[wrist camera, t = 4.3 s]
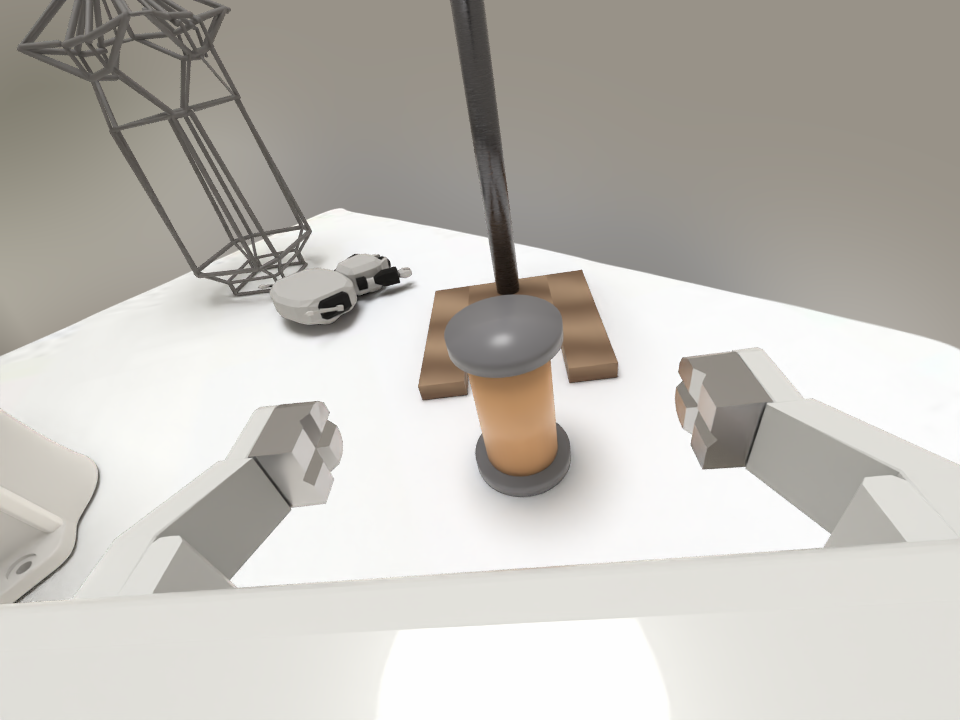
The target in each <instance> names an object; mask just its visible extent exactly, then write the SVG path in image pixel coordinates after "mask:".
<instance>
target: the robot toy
mask: <svg viewBox="0 0 960 720" xmlns="http://www.w3.org/2000/svg"><path fill="white" fill-rule="evenodd" d="M390 267H391V264H390V261H389V260H388V259H387V258H386V257H383V256H381V257H380V255H376V254H374V255H369V254H354V255H352V256H350V257H349V258H347V259H346V260H344V261H342V262H341V263H339V264H338V265H337V268H336V269H335V270H334V271H333V270H328V269H321V268H314V269H305V270H302V271H300V272H297V273H294V274H292V275H289V276H287V277H284V278H282V279H279V280H277V281H276V282H275V283H274V284H271V285H260V286H259V287H258V288H261V289H265V288H269V287H272V288H271V290H270V296H271V298H272V300H273V303H274V305H275V307H276V310H277V312H278V313H279V314H280V315H281V316H282V317H283V318H286V319H289V320H292V321H295V322H298V323H302V324H308V325H312V324H330V323H333V322H335V321H336V320H337V319H338V318H339V317H340V316H341V315H342V314H344V313H346V312H348V311H350V310H352V308H353V307H354V305H355V304H356V302H357V296H356V295H362V294H365V293H368V292H375V291H377V290H380V289H382V288H381V287H382V286H389V285H393V284H397V283H400V280H399V278H407V277H410V276H411V275H412V272H411V270H410V268H401V269H400V270H398V271H397V269H396V267H391V268H390Z"/></svg>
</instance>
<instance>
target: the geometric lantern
mask: <svg viewBox="0 0 960 720" xmlns="http://www.w3.org/2000/svg"><path fill="white" fill-rule="evenodd" d="M65 1H66V0H52V2H51V3H50V4H49V6H48V7H47V8H46V10H45V11H44V12H43V14H42V15H41V17H40V18H39V19H38V20H37V22H36V23H35V24H34V26H33V27H32V28H31V30H30V31H29V33H28V34H27V35H26V36H25V38H24V39H23V41H22V42H21V43H20V44H19V45H18V47H17V50H18V51H20V52H22V53H24V54H26V55H29V56H31V57H33V58H35V59H38V60H40V61H42V62H45V63H47V64H49V65H52V66H54V67H56V68H59V69H61V70H63V71H66V72H68V73H70V74H73V75H75V76H78V77H80V78H82V79H85V80H87V81H89V82H91V83H92V86H93V88H94V91H95V93H96V96H97V99H98V101H99V104H100V106H101V109H102V112H103V114H104V117H105V119H106V122H107V125H108V127H109V129H110V130H109V132H110V134H111V135H112V137H113V139H114V140H115V142H116V144H117V145H118V147H119V148H120V150H121V152H122V153H123V155H124V157H125V158H126V160H127V162H128V163H129V165H130V167H131V168H132V170H133V171H134V173H135V175H136V176H137V178H138V180H139V181H140V183H141V184H142V186H143V188H144V190H145V191H146V193H147V195H148V196H149V198H150V199H151V201H152V203H153V204H154V206H155V208H156V209H157V211H158V213H159V214H160V216H161V218H162V219H163V221H164V223H165V224H166V226H167V227H168V229H169V231H170V232H171V234H172V236H173V237H174V239H175V241H176V242H177V244H178V246H179V248H180V249H181V251H182V253H183V255H184V256H185V258H186V260H187V262H188V263H189V265H190V267H191V269H192V271H193V272H194V275H195V276H196V277H198V278H208V279H211V280H215V281H218V282H222V283H225V284H228V285H229V287H230V289H231V290H232V292H233V294H235V295H237V296H239V295H247V294H255V293H263V292H270V290H271V289H265V290H257V291H249V292H241V293H238V290H239V289H240V288H241V287H242V286H243V285H244V284H245V283H246V282H248V281H255V280H261V279H268V278H273V279H274V281H275V282H276V281H277V279H276V277H277V276H279V275H280V274H281V276H282V278H284V277H285V276H284V274H283V271H284V269H285V268H286V267H287V266H289V265H296V264H304V265H303V266H302V267H301V268H300V270H299V271H298V272H300V271H302V270H303V269H304V268H305V267H306V266H307V263H306V262H305V261H304V259H303V257H302V255H301V253H300V252H301V250H302V249H303V247H304V245H305V243H306V242H307V240H308V238H309V236H310V234H311V232H312V230H311V228H310V226H309V225H308V223H307V221H306V219H305V217H304V216H303V214H302V212H301V210H300V208H299V206H298V205H297V203H296V201H295V199H294V197H293V196H292V194H291V192H290V190H289V188H288V187H287V185H286V183H285V181H284V179H283V178H282V176H281V174H280V172H279V170H278V169H277V167H276V165H275V163H274V161H273V160H272V158H271V156H270V154H269V152H268V150H267V149H266V147H265V145H264V143H263V141H262V140H261V138H260V136H259V134H258V132H257V131H256V129H255V127H254V125H253V124H252V122H251V120H250V118H249V116H248V114H247V112H246V110H245V108H244V106H243V104H242V102H241V100H240V98H241V97H240V95H239V93H238V91H237V89H236V88H235V86H234V84H233V82H232V80H231V78H230V77H229V75H228V73H227V71H226V69H225V67H224V65H223V64H222V62H221V60H220V58H219V56H218V54H217V52H216V50H215V48H214V45H213V42H214V39H215V37H216V35H217V32H218V30H219V28H220V26H221V23H222V21H223V19H224V16H225V14H226V13H227V14H228V13H229V12H230V11H231V9H230V8H228V7H226V6H224V5H221V4H219V3H216V2H213V1H211V0H195V1H197V2H200V3H203V4H205V5H208V6H210V7H213V8H215V9H213V10H210V11H207V12H204V13H201V14H198V15H194V14H193V13H192V12H190V11H187V10H186V9H184V8H182V7H181V6H179V5H178V4H176V3H174V2H173V1H171V0H138V1H139V2H140V3H141V4H142V5H143V6H144V8H142V11H137V12H132V11H131V10H130V8H129V7H128V6H127V4H126V2H125V1H124V0H111V1H112V3H113V5H114V7H115V9H116V11H117V13H118V16H117V17H115V18H113V19H112V17H111V14H110V11H109V9H108V6H107V3H106V0H102V1H103V4H104V6H105V9H106V12H107V14H108V17H109V20H110V21H108V22H106V23H105V24H103V25H102V18H101V9H100V0H75V1H74V5H73V9H72V13H71V17H70V21H69V25H68V29H67V33H66V37H65V41H64V42H61V41H59V40H53V41H43V42H35V43H34V41H35V40H36V39H37V37H38V36H39V35H40V33H41V32H42V31H43V30H44V28H45V27H46V26H47V24H48V23H49V22H50V21H51V19H52V18H53V17H54V15H55V14H56V13H57V11H58V10H59V9H60V8H61V6H62V5H63V4H64V2H65ZM165 3H166V4H165ZM150 5H151V6H152V7H153V8H154V9H156V10H154V9H153V8H152V7H151V6H150ZM168 5H169V6H168ZM93 6H94V14H95V21H96V29H95V30H93ZM160 6H161V7H160ZM170 6H171V7H172V8H174V9H176V10H177V11H179V12H176V11H175V10H174V9H172V8H171V7H170ZM163 8H164V9H165V10H166V11H165V10H164V9H163ZM167 11H168V12H167ZM140 15H144V16H146V17H147V18H148V19H149V20H150V21H151V22H152V23H153V24H154V25H155V26H157V27H158V28H159V29H160V30H161V31H162V32H155V33H145V34H134V33H133V31H132V29H131V27H130V25H129V20H130V16H140ZM213 16H214V18H213V20H212V23H211V25H210V27H209V30H208V32H207V30H206V28H205V25H204V23H203V21H205V20H206V19H209V18H211V17H213ZM156 18H157V19H156ZM186 18H190V19H191V20H187V19H186ZM164 19H165V20H169V21H170V22H172V23H173V24H174V25H175V26H177V27H178V26H180V28H177V29H176V30H175V29H174V28H173V27H172V26H171V25H169V23H167V22H166V21H165V20H164ZM176 19H178V20H176ZM182 22H183V23H185V24H186V25H183V23H182ZM77 23H78V25H77ZM198 23H200V25H201V28H202V30H203V32H204V34H205V36H206V37H205V39H204V42H203V40H202V37H201V35H200V32H199V29H198V27H196V26H195V25H196V24H198ZM117 26H118V30H116V27H117ZM76 27H77V32H76V37H74V34H75V31H76ZM84 28H85V36H84ZM112 29H113V30H114V32H115V35H116V36H115V37H114V38H111V39H108V40H105V41H104V36H103V34H105V33H107V32H109V31H110V30H112ZM190 29H193V30H196V33H197V36H198V39H199V42H200V45H201V47H200V48H196V46H195V44H194V43H193V41H192V39H191V37H190V35H189V34H188V32H187V31H188V30H190ZM126 30H127V32H128V34H129V36H130V37H131V38H128V39H124V36H125V32H126ZM182 33H184V34H185V36H186V38H187V40H188V41H189V43H190V45H191V47H192V48H193V50H192V51H191V50H190V49H189V48H187V47H186V46H185V45H184V44H183V41H182V38H181V35H180V34H182ZM176 35H177V37H178V38H177V37H176ZM164 37H169V38H170V39H171V40H172V41H173V42H174V43H175V44H176V45H177V46H179V47H180V48H181V49H182V51H183V54H184V56H181V55H179V54H177V53H175V52H172V51H170V50H168V49H165V48H163V47H161V46H158V45H156V44H153V43H151V42H149V41H147V40H144V39H153V38H164ZM97 38H98V43H97V46H98V47H99V48H98V49H95V48H94V47H93V46H92V41H93V40H95V39H97ZM123 39H124V40H123ZM133 40H135V41H138V42H140V43H142V44H144V45H147V46H149V47H151V48H154V49H156V50H158V51H161V52H163V53H165V54H168V55H170V56H172V57H174V58H177V59H179V60H181V104H180V105H181V106H180V107H181V108H178V109H174V110H172V109H170V108H169V107H168V106H166V105H165V104H164V103H162V102H161V101H160V100H158V99H157V98H156V97H155V96H153V95H152V94H151V93H149V92H148V91H147V90H145V89H144V88H143V87H141V86H140V85H139V84H137V83H136V82H135V81H133V80H132V79H131V78H129V77H128V76H126V75H125V74H124V73H123V72H121V71H120V70H119V55H120V48H121V45H122V43H126V42H130V41H133ZM84 42H85V43H86V45H87V46H88V47H89V48H90V50H87V51H81V47H82V43H84ZM110 45H113V47H112V49H111V53H110V56H109V59H108V58H107V56H106V54H105V53H108V51H107V49H106V48H105V47H107V46H110ZM55 47H63V48H64V49H54V48H55ZM71 47H74V50H73V49H71ZM209 50H210V51H211V53H212V54H213V56H214V58H215V60H216V62H217V63H218V65H219V67H220V69H221V71H222V72H223V74H224V76H225V78H226V80H227V82H228V84H229V85H230V87H231V89H232V91H233V92H232V91H231V90H230V88H229V87H228V86H227V85H226V84H225V82H223V80H222V79H221V78H220V77H219V75H218V74H217V73H216V72H215V71H214V69H213V68H212V67H211V66H210V65H209V64H208V63H207V61H206V60H205V59H204V56H205V57H208V55H207V52H208V51H209ZM42 54H51V55H69V56H70V57H71V59H72V60H73V61H74V62H75V64H76V65H77V66H78V67H79V69H78V68H75V67H73V66H70V65H68V64H65V63H62V62H60V61H57V60H55V59H52V58H50V57H47V56H45V55H42ZM100 54H102V55H103V58H104V59H105V61H106V62H105V61H104V59H103V58H102V57H101V56H100ZM75 55H76V56H79V57H80V59H81V61H82V63H83V64H84V66H85V67H86V69H87V71H88V72H89V73H88V72H87V71H86V70H85V69H84V68H83V66H82V65H81V64H80V62H79V61H78V60H77V59H76V57H75ZM94 55H95V56H96V57H97V58H98V59H99V61H100V62H101V63H102V64H103V66H104V67H105V68H103V69H101V70H99V71H97V72H95V73H93V72H92V70H91V69H90V67H89V66H88V64H87V62H86V61H85V59H84V57H88V56H94ZM200 59H202V60H203V61H204V63H205V64H206V65H207V66H208V67H209V68H210V70H211V71H212V72H213V73H214V74H215V76H216V77H217V78H218V79H219V80H220V81H221V83H222V84H223V85H224V86H225V87H226V88H227V89H228V91H229V92H230V93H231V94H232V95H231V96H227V97H223V98H219V99H215V100H211V101H207V102H203V103H200V104H196V105H192V106H188V102H189V84H190V66H191V60H200ZM186 61H187V74H186ZM110 73H112V75H108V74H110ZM118 75H119V76H118ZM118 79H120V80H121V81H122V82H124V83H125V84H127V85H128V86H129V87H131V88H132V89H134V90H135V91H137V92H138V93H139V94H141V95H142V96H144V97H145V98H146V99H148V100H149V101H151V102H152V103H154V104H155V105H156V106H158V107H159V108H161V109H162V110H163V111H165V112H163V113H160V114H157V115H153V116H150V117H147V118H144V119H141V120H137V121H134V122H130V123H127V124H124V125H121V126H118V125H117V122H116V120H115V118H114V115H113V113H112V111H111V109H110V106H109V104H108V102H107V100H106V97H105V95H104V92H103V90H102V88H101V85H100V83H99V81H116V80H118ZM185 84H186V92H185ZM232 100H235V102H236V104H237V106H238V107H239V109H240V111H241V113H242V114H243V116H244V118H245V120H246V122H247V124H248V126H249V128H250V130H251V132H252V133H253V135H254V137H255V139H256V141H257V143H258V145H259V147H260V149H261V151H262V153H263V155H264V157H265V159H266V161H267V163H268V165H269V167H270V169H271V171H272V173H273V174H274V176H275V178H276V180H277V182H278V184H279V186H280V188H281V190H282V192H283V194H284V196H285V198H286V200H287V202H288V204H289V206H290V208H291V210H292V212H293V214H294V216H295V218H296V220H297V222H298V224H299V226H294V227H289V228H283V229H277V230H271V231H266V232H264V231H263V229H262V227H261V225H260V223H259V222H258V220H257V218H256V217H255V215H254V213H253V212H252V210H251V208H250V207H249V205H248V203H247V201H246V200H245V198H244V197H243V195H242V193H241V191H240V190H239V188H238V186H237V185H236V183H235V181H234V179H233V178H232V176H231V174H230V173H229V171H228V169H227V168H226V166H225V164H224V162H223V161H222V159H221V157H220V156H219V154H218V152H217V151H216V149H215V147H214V146H213V144H212V142H211V140H210V139H209V137H208V135H207V134H206V132H205V130H204V129H203V127H202V125H201V123H200V122H199V120H198V118H197V116H196V115H195V113H194V112H193V111H192V110H191V109H193V110H194V111H199V110H202V109H206V108H208V107H212V106H215V105H219V104H222V103H225V102H229V101H232ZM105 109H106V110H105ZM106 112H107V113H106ZM107 114H108V115H107ZM108 116H109V118H110V121H111V123H112V125H113V128H112V126H111V123H110V121H109V118H108ZM188 116H190V117H191V118H192V120H193V122H194V123H195V125H196V127H197V128H198V130H199V132H200V134H201V135H202V137H203V138H204V140H205V142H206V144H207V145H208V147H209V149H210V150H211V152H212V154H213V155H214V157H215V159H216V160H217V162H218V163H219V165H220V167H221V169H222V170H223V172H224V174H225V175H226V177H227V179H228V181H229V182H230V184H231V185H232V187H233V189H234V191H235V192H236V194H237V196H238V197H239V199H240V200H241V202H242V204H243V206H244V207H245V209H246V210H247V212H248V214H249V216H250V217H251V219H252V220H253V222H254V224H255V226H256V227H257V229H258V230H259V232H260V233H254V234H252V232H251V230H250V228H249V226H248V224H247V223H246V221H245V219H244V217H243V215H242V214H241V212H240V210H239V208H238V206H237V204H236V203H235V201H234V199H233V197H232V195H231V194H230V192H229V190H228V188H227V186H226V185H225V183H224V181H223V179H222V177H221V175H220V174H219V172H218V170H217V168H216V166H215V165H214V163H213V161H212V159H211V157H210V156H209V154H208V152H207V150H206V149H205V146H204V145H203V143H202V141H201V139H200V137H199V136H198V134H197V132H196V130H195V128H194V127H193V125H192V123H191V121H190V120H189V118H188ZM182 117H184V119H185V121H186V122H187V124H188V126H189V128H190V130H191V132H192V134H193V135H194V137H195V139H196V141H197V143H198V144H199V146H200V148H201V150H202V152H203V153H204V155H205V157H206V159H207V160H208V162H209V164H210V166H211V167H212V169H213V171H214V173H215V175H216V177H217V178H218V180H219V182H220V184H221V185H222V187H223V189H224V191H225V193H226V194H227V196H228V198H229V200H230V202H231V203H232V205H233V207H234V209H235V210H236V212H237V214H238V216H239V218H240V219H241V221H242V223H243V225H244V227H245V228H246V230H247V232H248V234H249V235H247V236H244V237H243V236H242V234H241V233H240V231H239V229H238V227H237V225H236V223H235V222H234V220H233V218H232V216H231V215H230V213H229V211H228V209H227V208H226V206H225V204H224V202H223V200H222V198H221V196H220V195H219V193H218V191H217V189H216V187H215V186H214V184H213V182H212V180H211V178H210V177H209V175H208V173H207V171H206V169H205V168H204V166H203V164H202V162H201V160H200V158H199V157H198V155H197V153H196V151H195V149H194V148H193V146H192V144H191V142H190V141H189V139H188V137H187V135H186V134H185V132H184V130H183V129H182V127H181V125H180V124H179V122H178V120H177V119H178V118H182ZM167 119H168V121H169V123H170V125H171V127H172V129H173V131H174V132H175V134H176V136H177V138H178V140H179V142H180V144H181V146H182V148H183V150H184V152H185V154H186V156H187V157H188V159H189V161H190V163H191V165H192V167H193V169H194V171H195V173H196V175H197V176H198V178H199V180H200V182H201V184H202V186H203V188H204V190H205V192H206V194H207V195H208V198H209V199H210V201H211V203H212V205H213V207H214V209H215V211H216V213H217V215H218V217H219V219H220V220H221V223H222V224H223V227H224V228H225V231H226V232H227V234H228V236H229V238H230V241H231V242H230V243H229V244H228V245H226V246H225V247H224V248H222V249H221V250H220V251H219V252H217V253H216V254H215V255H214V256H212V257H211V258H210V259H208V260H207V261H206V262H205V263H203V264H202V265H201V266H200V267H198V268H197V266H196V265H195V263H194V261H193V260H192V258H191V256H190V255H189V253H188V251H187V250H186V248H185V246H184V245H183V243H182V241H181V240H180V238H179V236H178V235H177V233H176V231H175V229H174V227H173V225H172V224H171V222H170V220H169V218H168V216H167V215H166V213H165V211H164V209H163V207H162V206H161V204H160V202H159V201H158V198H157V196H156V195H155V193H154V191H153V189H152V187H151V186H150V184H149V182H148V180H147V178H146V177H145V175H144V173H143V171H142V169H141V168H140V166H139V164H138V162H137V160H136V158H135V157H134V155H133V153H132V151H131V149H130V148H129V146H128V144H127V142H126V141H125V139H124V137H123V135H122V133H121V132H120V130H124V129H128V128H132V127H137V126H141V125H145V124H150V123H154V122H159V121H162V120H167ZM189 151H190V152H189ZM190 153H191V154H190ZM191 155H192V156H191ZM192 157H193V158H194V160H195V162H196V164H197V166H198V167H199V169H200V171H201V173H202V174H203V176H204V178H205V180H206V181H207V183H208V185H209V187H210V189H211V190H212V192H213V194H214V196H215V197H216V199H217V201H218V203H219V205H220V206H221V208H222V210H223V212H224V213H225V215H226V217H227V219H228V221H229V222H230V224H231V226H232V228H233V230H234V231H235V233H236V235H237V237H238V239H235V240H234V238H233V236H232V234H231V232H230V230H229V228H228V226H227V224H226V222H225V220H224V218H223V216H222V214H221V212H220V210H219V208H218V206H217V204H216V202H215V200H214V198H213V197H212V195H211V193H210V191H209V189H208V187H207V185H206V183H205V181H204V179H203V177H202V175H201V173H200V171H199V169H198V168H197V166H196V164H195V162H194V160H193V158H192ZM298 214H299V215H298ZM299 216H300V217H299ZM300 218H301V219H300ZM301 220H302V221H301ZM302 222H303V223H304V225H305V226H304V225H303V223H302ZM300 229H301V230H300ZM303 229H304V230H306V232H305V233H304V234H303V235H302V233H303ZM294 230H300V233H299V237H298V239H297V240H296V241H295V242H294V243H293V244H291V245H290V246H289V247H288V248H287V249H286V250H285V251H281V252H276V250H275V248H274V247H273V245H272V244H271V242H270V240H269V239H268V237H267V235H270V234H276V233H282V232H288V231H294ZM259 236H262V237H263V239H264V241H265V242H266V244H267V245H268V247H269V249H270V250H271V252H272V253H271V254H266V255H261V256H257V253H256V248H255V243H254V238H253V237H259ZM250 238H251V242H252V247H253V252H254V256H253V254H252V252H251V251H250V249H249V247H248V245H247V243H246V242H245V240H247V239H250ZM302 240H304V241H303V243H302V245H301V246H300V248H299V244H300V242H301V241H302ZM238 242H241V244H242V245H243V247H244V249H245V251H246V253H247V254H248V255H247V254H246V253H245V252H244V251H243V250H242V248H241V247H240V246H239V245H238V244H237V243H238ZM233 245H235V246H236V247H237V248H238V249H239V250H240V251H241V252H242V253H243V254H244V255H245V257H246V258H247V259H248V260H247V261H246V262H245V263H244V264H243V265H242V266H241V267H240V268H239V269H238V270H229V271H221V272H212V273H202V272H200V271H202V270H203V269H204V268H205V267H207V266H208V265H209V264H210V263H212V262H213V261H214V260H215V259H217V258H218V257H219V256H220V255H222V254H223V253H224V252H225V251H227V250H228V249H229V248H230V247H232V246H233ZM295 247H296V248H295ZM294 248H295V249H294ZM298 248H299V250H298ZM294 251H295V254H294V255H293V256H292V258H291V259H290V260H289V261H288V262H287V263H285V264H281V259H282V258H284V257H285V256H286V255H287V254H288V253H289V252H294ZM279 254H280V255H279ZM270 256H274V257H275V258H274V259H273V260H271V261H269V262H267V263H266V264H264V265H261V263H260V261H259V259H260V258H265V257H270ZM296 256H297V258H298V260H299V262H292V261H293V260H294V258H295V257H296ZM277 262H278V265H273V264H275V263H277ZM291 262H292V263H291ZM248 263H249V264H250V266H251V267H252V268H247V269H243V268H244V267H245V266H246V265H247V264H248ZM252 263H253V264H252ZM253 265H254V266H253ZM282 266H283V267H282ZM254 267H255V268H254ZM274 267H278V273H276V274H275V275H274V274H272V273H270V272H268V271H267V270H265V269H267V268H274ZM281 267H282V268H281ZM259 271H263V272H265V273H266V274H268V275H269V276H262V277H256V278H251V277H252V276H253V275H254V274H255V273H256V272H259ZM251 272H253V273H252V274H250V275H249V276H248V277H247V278H246V279H243V280H236V281H232V280H233V279H234V278H235V277H236V276H237V274H242V273H251ZM224 275H232V276H231V277H230V278H229V279H228V281H226V280H223V279H220V278H217V277H215V276H224ZM241 282H242V283H241ZM235 283H241V284H240V285H239V286H238V287H237V288H236V289H235V287H234V286H233V284H235Z"/></svg>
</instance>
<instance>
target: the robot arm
mask: <svg viewBox="0 0 960 720" xmlns="http://www.w3.org/2000/svg"><path fill="white" fill-rule="evenodd" d="M678 372H679V374H680V376H681V378H682V380H683V381H682V382H681V383H680V384H679V385H678V386H677V387H676V394H675V404H676V412H677V415H678V418H679V421H680V423H681V425H682V428H683V429H684V430H686V431H687V432H689V433H690V434H692V439H691V447H692V449H693V451H694V453H695V455H696V457H697V459H698V461H699V463H700V465H701V467H702V469H718V468H733V467H746V469H747V470H748V471H750V472H751V473H752V474H753V475H755V476H756V477H757V478H759V479H760V480H761V481H763V482H764V483H765V484H766V485H768V486H769V487H770V488H772V489H773V490H774V491H776V492H777V493H778V494H779V495H781V496H782V497H783V498H785V499H786V500H787V501H789V502H790V503H791V504H793V505H794V506H795V507H796V508H798V509H799V510H800V511H802V512H803V513H804V514H806V515H807V516H808V517H809V518H811V519H812V520H813V521H815V522H816V523H817V524H819V525H820V526H821V527H823V528H824V529H825V530H826V531H828V532H829V533H830V534H831V536H830V537H829V539H828V541H827V542H826V544H825V546H824V548H813V549H798V550H784V551H769V552H755V553H740V554H725V555H711V556H696V557H682V558H667V559H653V560H638V561H624V562H609V563H594V564H580V565H565V566H551V567H536V568H522V569H507V570H492V571H478V572H463V573H448V574H434V575H419V576H404V577H390V578H375V579H360V580H345V581H331V582H316V583H301V584H286V585H272V586H257V587H243V588H237V587H236V586H235V585H234V584H233V583H232V582H231V581H230V579H231V578H232V577H233V576H234V575H235V574H236V572H237V571H238V570H239V569H240V568H241V567H242V566H243V564H244V563H245V562H246V561H247V560H248V559H249V558H250V556H251V555H252V554H253V553H254V552H255V551H256V550H257V548H258V547H259V546H260V545H261V544H262V543H263V542H264V541H265V539H266V538H267V537H268V536H269V535H270V534H271V533H272V531H273V530H274V529H275V528H276V527H277V526H278V525H279V523H280V522H281V521H282V520H283V519H284V518H285V517H286V515H287V514H288V513H289V512H290V511H291V508H293V507H302V506H310V505H319V504H326V502H327V499H328V496H329V493H330V490H331V487H332V484H333V481H334V478H333V476H332V474H331V471H332V470H333V469H334V468H335V467H336V466H337V465H338V464H339V463H340V460H341V457H342V451H343V441H342V437H341V433H340V431H339V429H338V427H337V425H335V424H333V423H332V422H330V421H328V420H327V419H328V416H329V413H330V412H329V410H328V409H327V407H326V405H325V404H324V403H323V402H320V401H314V402H303V403H293V404H282V405H276V406H266V407H260V408H258V409H256V410H255V411H254V412H253V414H252V416H251V417H250V419H249V421H248V422H247V424H246V426H245V427H244V429H243V431H242V432H241V434H240V435H239V437H238V439H237V440H236V442H235V444H234V445H233V447H232V449H231V450H230V452H229V454H228V455H227V457H226V459H225V460H224V461H218V462H217V463H215V464H214V465H213V466H211V467H210V468H209V469H207V470H206V471H205V472H203V473H202V474H201V475H199V476H198V477H197V478H195V479H194V480H193V481H191V482H190V483H189V484H187V485H186V486H185V487H183V488H182V489H181V490H179V491H178V492H177V493H175V494H174V495H173V496H171V497H170V498H169V499H167V500H166V501H165V502H163V503H162V504H161V505H159V506H158V507H157V508H155V509H154V510H153V511H151V512H150V513H149V514H147V515H146V516H145V517H143V518H142V519H141V520H139V521H138V522H137V523H135V524H134V525H133V526H132V527H130V528H129V529H128V530H126V531H125V532H124V533H122V534H121V535H120V536H118V537H117V538H116V539H114V541H113V542H112V544H111V545H110V546H109V548H108V549H107V551H106V552H105V553H104V555H103V556H102V558H101V559H100V560H99V562H98V563H97V565H96V566H95V567H94V569H93V570H92V571H91V573H90V574H89V576H88V577H87V578H86V580H85V581H84V583H83V584H82V585H81V587H80V588H79V590H78V591H77V592H76V594H75V595H74V596H73V598H72V599H68V600H53V601H39V602H24V603H14V602H15V601H16V600H17V599H19V598H20V597H21V596H22V595H24V594H25V593H26V592H27V591H29V590H30V589H31V588H33V587H34V586H35V585H36V584H38V583H39V582H40V581H41V580H43V579H44V578H45V577H46V576H48V575H49V574H50V573H51V572H53V571H54V570H55V569H57V568H58V567H59V566H60V565H61V564H62V563H63V562H64V561H65V560H66V559H67V558H68V557H69V555H70V554H71V552H72V550H73V548H74V544H75V540H76V530H77V523H78V520H79V518H80V516H81V514H82V513H83V511H84V509H85V508H86V506H87V504H88V502H89V501H90V499H91V497H92V495H93V492H94V490H95V487H96V484H97V480H98V469H97V466H96V464H95V462H94V461H93V460H92V459H90V458H89V457H87V456H84V455H82V454H79V453H77V452H74V451H72V450H70V449H68V448H66V447H64V446H62V445H60V444H58V443H56V442H54V441H52V440H50V439H48V438H46V437H45V436H43V435H41V434H40V433H38V432H36V431H34V430H33V429H31V428H29V427H28V426H26V425H25V424H23V423H22V422H20V421H18V420H17V419H15V418H14V417H12V416H11V415H9V414H8V413H6V412H5V411H3V410H2V409H0V720H960V465H959V464H956V463H954V462H952V461H950V460H948V459H945V458H943V457H941V456H939V455H937V454H934V453H932V452H930V451H928V450H926V449H923V448H921V447H919V446H917V445H914V444H912V443H910V442H908V441H906V440H903V439H901V438H899V437H897V436H895V435H892V434H890V433H888V432H886V431H884V430H881V429H879V428H877V427H875V426H873V425H870V424H868V423H866V422H864V421H862V420H859V419H857V418H855V417H853V416H851V415H848V414H846V413H844V412H842V411H840V410H837V409H835V408H833V407H831V406H829V405H826V404H824V403H822V402H820V401H817V400H815V399H813V398H812V399H804V398H803V397H802V395H801V394H800V393H799V392H798V391H797V389H796V388H795V387H794V386H793V385H792V383H791V382H790V381H789V380H788V379H787V378H786V376H785V375H784V374H783V373H782V372H781V370H780V369H779V368H778V367H777V366H776V365H775V363H774V362H773V361H772V360H771V359H770V357H769V356H768V355H767V354H766V353H765V351H764V350H763V349H760V348H758V347H756V348H748V349H741V350H734V351H731V352H722V353H714V354H706V355H698V356H690V357H683V358H682V359H681V361H680V364H679V371H678Z"/></svg>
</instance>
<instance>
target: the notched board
mask: <svg viewBox="0 0 960 720" xmlns="http://www.w3.org/2000/svg"><path fill="white" fill-rule="evenodd" d="M519 287H520V289H519V291H518V292H517V293H515V294H512V295H529V296H534V297H538V298H541V299H544V300H546V301H548V302H550V303H551V304H553V305H554V306H555V307H556V308H557V309H558V310H559V311H560V314H561V316H562V321H563V343H562V346H561V349H562V353H563V357H564V362H565V366H566V370H567V375H568V379H569V383H571V382H580V381H588V380H597V379H605V378H614V377H617V374H618V361H617V359H616V356H615V354H614V351H613V349H612V346H611V343H610V341H609V338H608V336H607V333H606V331H605V328H604V325H603V323H602V320H601V318H600V315H599V313H598V310H597V307H596V305H595V302H594V300H593V297H592V295H591V292H590V289H589V287H588V284H587V282H586V279H585V277H584V274H583V271H582V270H578V271H571V272H564V273H557V274H550V275H543V276H536V277H529V278H522V279H519ZM495 296H501V295H500V294H498V293H497V289H496V282H495V283H488V284H481V285H474V286H467V287H460V288H453V289H446V290H439V291H436V292H435V298H434V303H433V308H432V314H431V319H430V325H429V330H428V336H427V341H426V347H425V352H424V357H423V363H422V368H421V374H420V379H419V385H418V388H419V391H420V394H421V397H422V400H426V399H435V398H444V397H452V396H461V395H467V388H468V373H467V372H464V371H463V370H461V369H459V368H458V367H457V366H455V365H454V363H453V362H452V361H451V359H450V357H449V354H448V350H447V346H446V343H445V339H444V332H445V328H446V326H447V324H448V322H449V321H450V320H451V318H452V317H453V316H454V315H455V314H456V313H458V312H459V311H460V310H462V309H463V308H465V307H467V306H469V305H471V304H473V303H475V302H478V301H480V300H483V299H487V298H490V297H495Z"/></svg>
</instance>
